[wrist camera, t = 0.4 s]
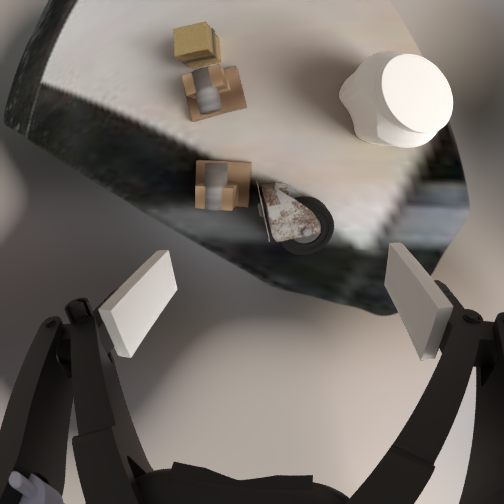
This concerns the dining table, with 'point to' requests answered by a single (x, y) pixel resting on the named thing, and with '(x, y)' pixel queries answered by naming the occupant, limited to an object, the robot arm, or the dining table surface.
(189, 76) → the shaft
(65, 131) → the dining table surface
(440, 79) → the jar
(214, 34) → the block
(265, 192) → the caster wheel
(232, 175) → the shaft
